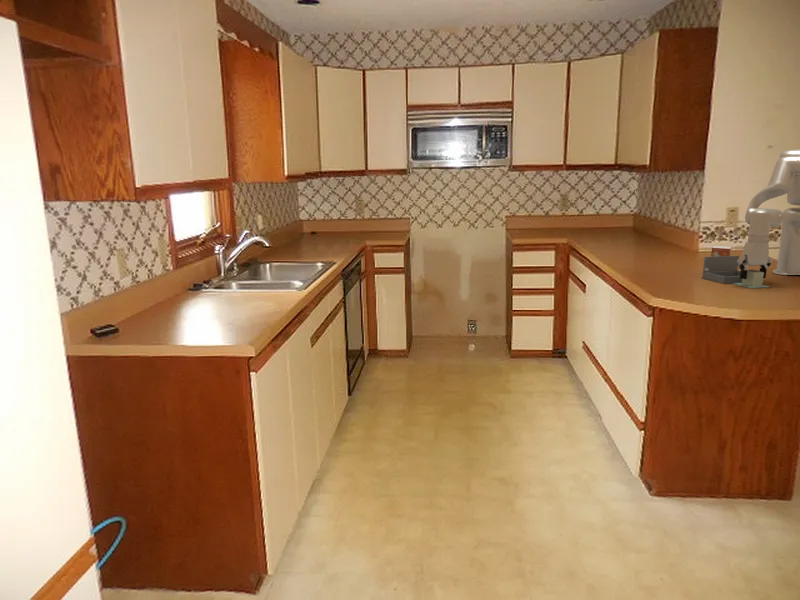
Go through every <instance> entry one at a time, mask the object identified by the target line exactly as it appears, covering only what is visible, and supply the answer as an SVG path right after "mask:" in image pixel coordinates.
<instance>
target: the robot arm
mask: <svg viewBox="0 0 800 600" xmlns="http://www.w3.org/2000/svg"><path fill="white" fill-rule="evenodd" d="M784 195H786V202H787V204H788V205H792V206H800V148H799V149H798V148H797V149H793V148H791V149H785V150H782V151H781V152H780V154H779V158H778V159H777V161H776V162H775V164H774V168H773V171H772V174H771V176H770V179H769V182H768V184H767V185H766V187H764V188H763V189H762V190H760V191H759V192H758V193H756V194H755V195H754V196H753V197H752V198H751V200H750V201H749V203H748V207H747V208H746V209H747V210H746V212H745V216H744V219H745V223H746V224H748V227H749V228H748V234H747V235H748V236H747V241H746V242H745V243H744V246H743V249H742V253H741V257H739V259H738V260H737V263H738V267H739V268H738V269H739V270H740V271H741V272H740V278H741V279H747V272H748V271H747V270H748V269H749V267H754V266H756V267H758V266H759V267H760V268H759V271H760V272H764V276H763V279H766V277H767V271H768V269H769V267H770V266H771V264H772V262H773V260H774V259H773V257H770V256H769V253H770V251H769V250H770V249H769V248H770V247H769V242H768V241H769V239H770V236H769V235H770V228H773V227H774V228H775V227H778V226H780V225H781V236H780V242H779V250H778V257H777V263H776V268H775V269H773V270H772V271H771V272H772V273H773V274H775V275H779V276H780V275H781V276H787V275H800V207H788V208H786V209H785V210H783V211H782V210H780V209H776V208H762V207H761V208H759V207H760V206H761V205H762V204H763V203H765V202H767V201H769V200H772V199H776V198H778V197H781V196H784Z"/></svg>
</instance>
